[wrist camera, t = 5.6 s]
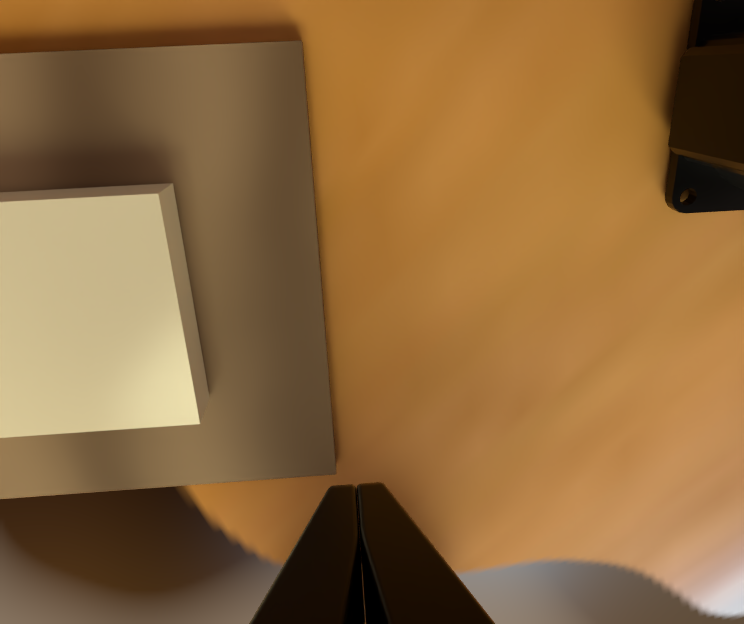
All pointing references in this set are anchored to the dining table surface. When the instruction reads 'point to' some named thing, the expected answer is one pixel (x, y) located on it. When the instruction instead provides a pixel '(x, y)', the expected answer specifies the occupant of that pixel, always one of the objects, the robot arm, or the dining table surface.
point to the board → (191, 249)
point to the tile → (96, 313)
